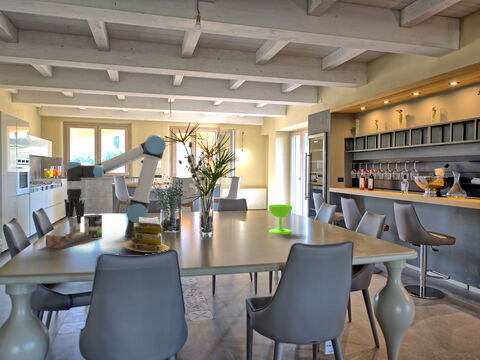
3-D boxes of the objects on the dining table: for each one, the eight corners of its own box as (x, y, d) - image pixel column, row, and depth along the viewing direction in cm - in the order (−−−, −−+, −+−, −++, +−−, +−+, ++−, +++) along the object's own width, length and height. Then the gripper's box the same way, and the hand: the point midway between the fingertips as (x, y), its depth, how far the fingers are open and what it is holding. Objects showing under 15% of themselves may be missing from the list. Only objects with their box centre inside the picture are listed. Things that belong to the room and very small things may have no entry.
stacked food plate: (172, 244, 195) (172, 214, 195) (164, 254, 170) (164, 221, 170) (128, 244, 194) (128, 215, 194) (114, 255, 169) (113, 221, 169)
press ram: (85, 238, 200) (85, 216, 200) (76, 241, 194) (75, 218, 193) (75, 237, 203) (75, 216, 203) (65, 240, 197) (65, 217, 196)
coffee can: (105, 237, 215) (105, 214, 215) (95, 240, 205) (95, 216, 204) (91, 236, 217) (90, 214, 217) (80, 239, 207) (80, 216, 206)
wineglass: (294, 234, 224) (294, 207, 223) (269, 234, 224) (269, 206, 224) (290, 230, 240) (290, 204, 239) (267, 229, 240) (267, 204, 240)
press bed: (92, 241, 202) (92, 230, 202) (61, 248, 183) (61, 236, 183) (76, 239, 207) (76, 228, 206) (45, 247, 187) (45, 235, 187)
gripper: (57, 188, 197) (58, 228, 197) (80, 189, 190) (81, 230, 191) (68, 187, 204) (69, 226, 204) (90, 188, 197) (91, 228, 198)
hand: (74, 228), depth 198 cm, fingers closed on press ram, 4 cm apart
